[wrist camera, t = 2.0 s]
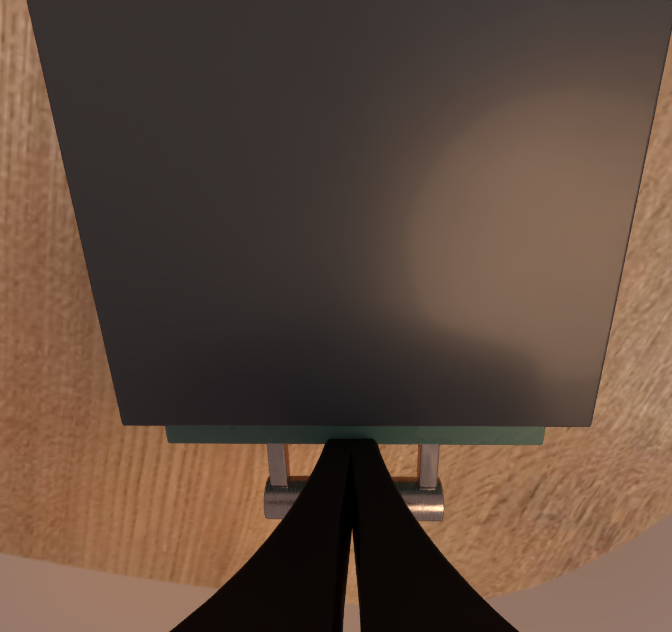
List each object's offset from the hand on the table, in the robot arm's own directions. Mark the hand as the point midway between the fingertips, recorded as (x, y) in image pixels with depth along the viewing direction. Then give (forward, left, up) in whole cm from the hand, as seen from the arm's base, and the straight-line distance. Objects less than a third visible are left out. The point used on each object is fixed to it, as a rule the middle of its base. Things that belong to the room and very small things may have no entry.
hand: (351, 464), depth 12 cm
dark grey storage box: (+9, 0, -6) cm, 11 cm away
